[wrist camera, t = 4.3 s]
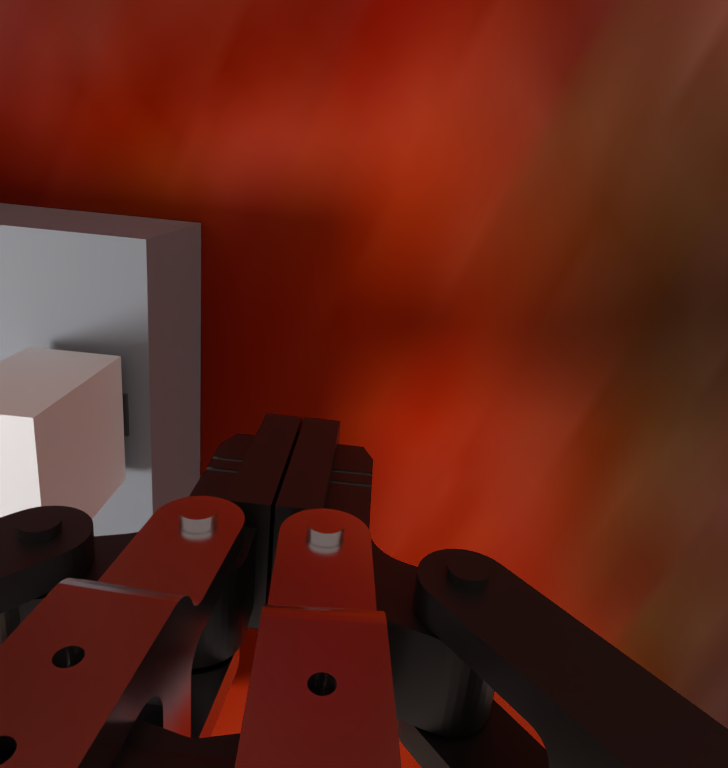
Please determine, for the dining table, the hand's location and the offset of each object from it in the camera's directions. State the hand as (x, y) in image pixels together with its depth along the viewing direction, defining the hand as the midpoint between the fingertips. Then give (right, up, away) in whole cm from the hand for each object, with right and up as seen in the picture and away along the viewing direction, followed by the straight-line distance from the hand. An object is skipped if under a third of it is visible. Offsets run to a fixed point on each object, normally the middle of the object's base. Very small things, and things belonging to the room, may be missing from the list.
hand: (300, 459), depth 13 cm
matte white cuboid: (-5, +1, +1) cm, 5 cm away
